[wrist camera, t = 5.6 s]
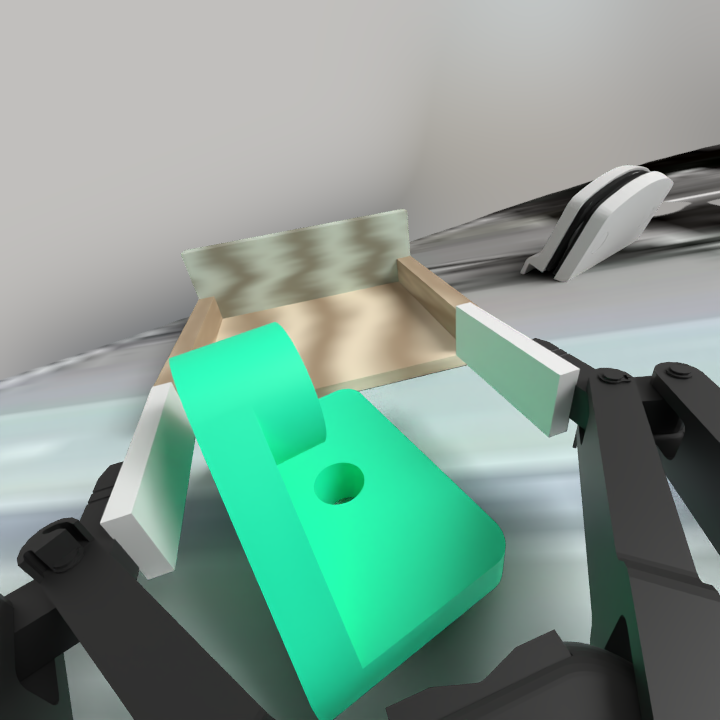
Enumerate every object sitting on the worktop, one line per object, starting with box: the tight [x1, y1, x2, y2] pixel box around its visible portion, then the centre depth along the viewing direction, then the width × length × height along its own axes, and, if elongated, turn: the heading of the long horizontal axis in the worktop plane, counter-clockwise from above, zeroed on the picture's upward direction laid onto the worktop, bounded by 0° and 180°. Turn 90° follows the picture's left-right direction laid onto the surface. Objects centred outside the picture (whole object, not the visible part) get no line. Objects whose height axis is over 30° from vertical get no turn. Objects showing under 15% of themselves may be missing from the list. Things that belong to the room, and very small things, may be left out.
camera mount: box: [169, 322, 506, 720], centre depth 14 cm, size 12×8×10 cm, turn 30°
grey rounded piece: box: [520, 165, 673, 282], centre depth 38 cm, size 17×5×10 cm, turn 127°
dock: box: [153, 209, 480, 399], centre depth 30 cm, size 22×18×8 cm
